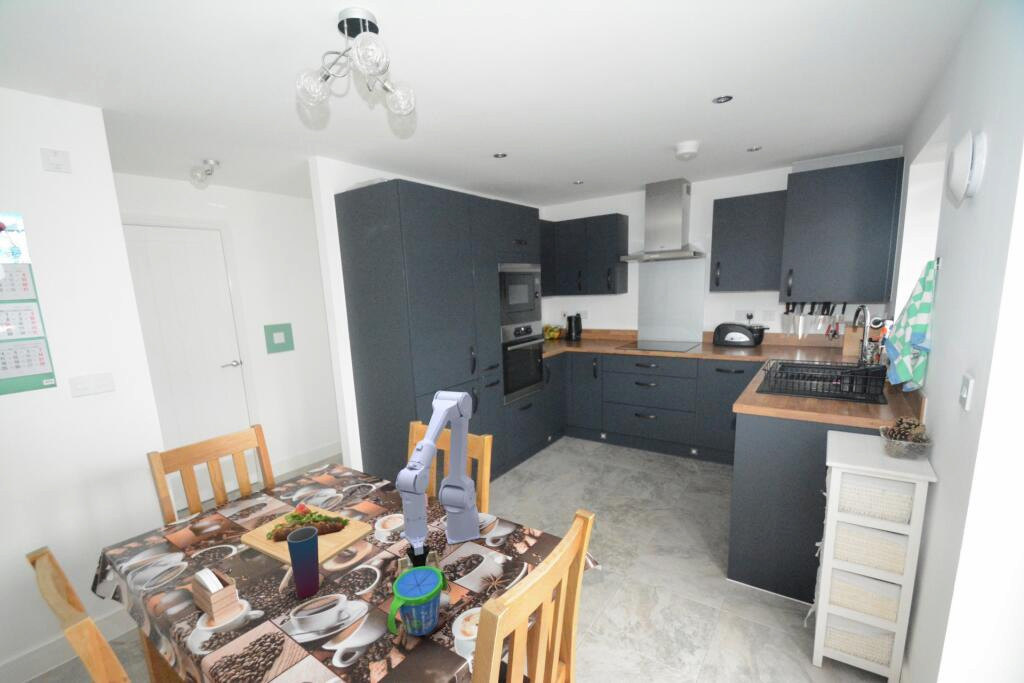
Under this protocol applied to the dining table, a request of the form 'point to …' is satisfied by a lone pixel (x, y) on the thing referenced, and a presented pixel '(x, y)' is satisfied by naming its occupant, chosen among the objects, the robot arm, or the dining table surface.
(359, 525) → the cutting board
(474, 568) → the dining table surface
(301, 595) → the cup
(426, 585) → the snack cup
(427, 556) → the small crate
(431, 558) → the beige wooden tray
